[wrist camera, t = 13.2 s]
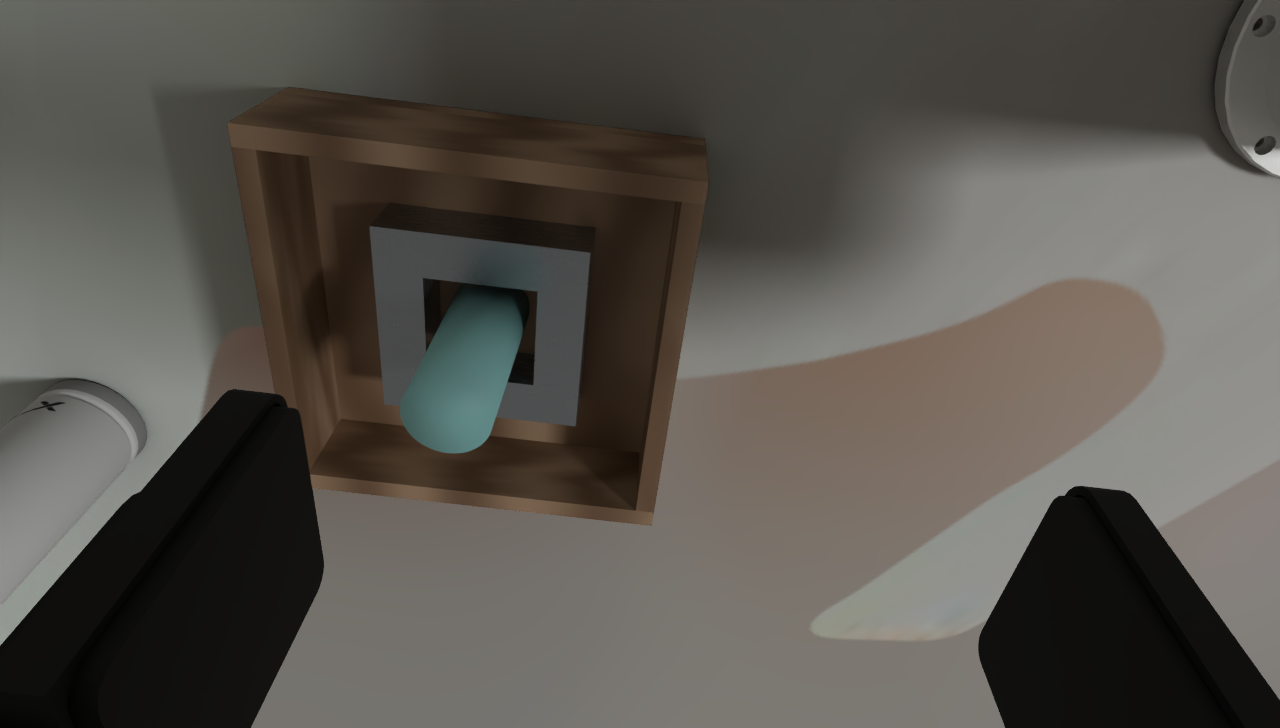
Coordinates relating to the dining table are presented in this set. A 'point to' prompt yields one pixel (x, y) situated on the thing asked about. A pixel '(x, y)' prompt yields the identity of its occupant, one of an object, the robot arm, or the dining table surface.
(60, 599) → the robot arm
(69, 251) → the dining table surface
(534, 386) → the bore plate
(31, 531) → the travel mug
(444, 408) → the peg
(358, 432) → the box
